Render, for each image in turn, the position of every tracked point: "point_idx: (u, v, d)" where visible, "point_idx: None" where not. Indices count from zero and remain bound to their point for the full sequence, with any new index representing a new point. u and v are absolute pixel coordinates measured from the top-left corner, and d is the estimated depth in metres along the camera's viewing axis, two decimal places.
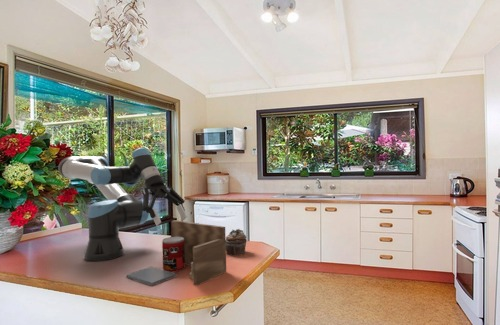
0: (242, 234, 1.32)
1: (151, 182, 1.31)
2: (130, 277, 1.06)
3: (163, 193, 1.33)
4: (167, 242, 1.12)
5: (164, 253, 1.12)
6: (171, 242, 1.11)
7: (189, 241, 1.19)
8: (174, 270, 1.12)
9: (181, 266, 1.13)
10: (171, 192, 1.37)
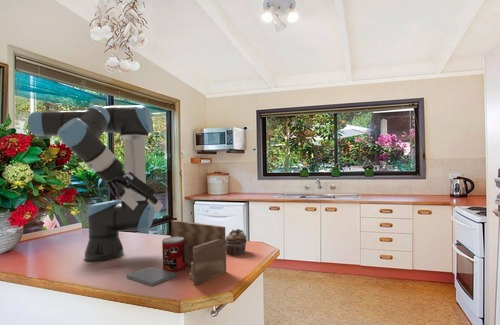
0: (242, 234, 1.32)
1: None
2: (130, 277, 1.06)
3: None
4: (167, 242, 1.12)
5: (164, 253, 1.12)
6: (171, 242, 1.11)
7: (189, 241, 1.19)
8: (174, 270, 1.12)
9: (181, 266, 1.13)
10: None
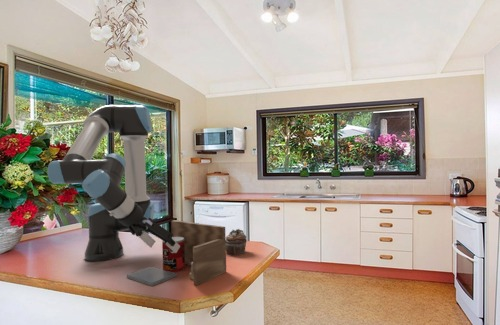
0: (242, 234, 1.32)
1: None
2: (130, 277, 1.06)
3: None
4: None
5: (164, 253, 1.12)
6: None
7: (189, 241, 1.19)
8: (174, 270, 1.12)
9: (181, 266, 1.13)
10: None
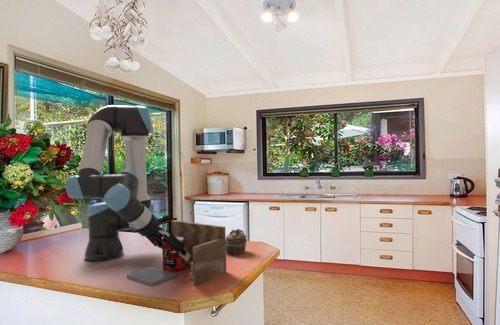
0: (242, 234, 1.32)
1: None
2: (130, 277, 1.06)
3: None
4: None
5: (164, 253, 1.12)
6: None
7: (189, 241, 1.19)
8: (174, 270, 1.12)
9: (181, 265, 1.13)
10: None
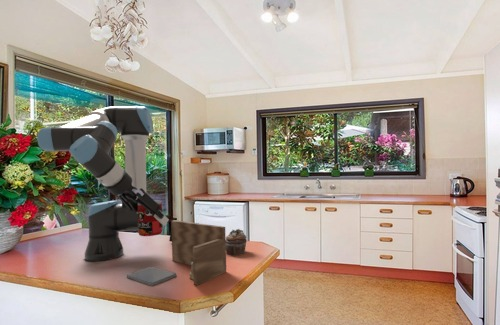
0: (242, 234, 1.32)
1: None
2: (130, 277, 1.06)
3: None
4: None
5: (139, 216, 1.04)
6: None
7: (189, 241, 1.19)
8: (150, 234, 1.04)
9: (158, 230, 1.05)
10: None
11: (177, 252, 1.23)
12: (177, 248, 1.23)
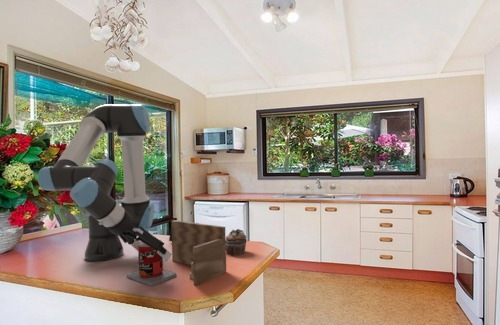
0: (242, 234, 1.32)
1: None
2: (130, 277, 1.06)
3: None
4: (143, 245, 1.04)
5: (140, 258, 1.04)
6: (147, 245, 1.03)
7: (189, 241, 1.19)
8: (150, 276, 1.04)
9: (158, 271, 1.05)
10: None
11: (177, 252, 1.23)
12: (177, 248, 1.23)
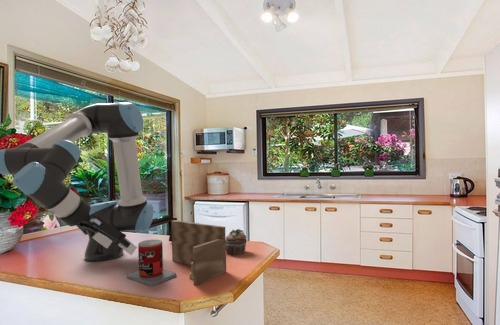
0: (242, 234, 1.32)
1: None
2: (130, 277, 1.06)
3: None
4: (143, 245, 1.03)
5: (140, 258, 1.04)
6: (147, 245, 1.03)
7: (189, 241, 1.19)
8: (150, 276, 1.04)
9: (158, 271, 1.05)
10: None
11: (177, 252, 1.23)
12: (177, 248, 1.23)
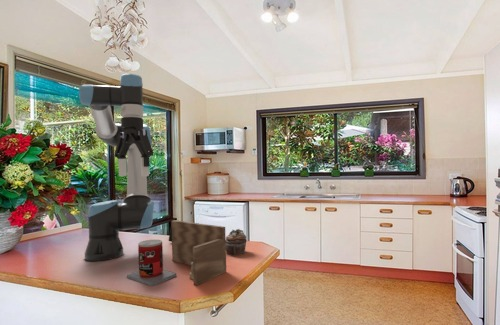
0: (242, 234, 1.32)
1: None
2: (130, 277, 1.06)
3: (131, 140, 1.11)
4: (143, 246, 1.03)
5: (140, 258, 1.04)
6: (147, 246, 1.03)
7: (189, 241, 1.19)
8: (150, 276, 1.04)
9: (158, 271, 1.05)
10: None
11: (177, 252, 1.23)
12: (177, 248, 1.23)
